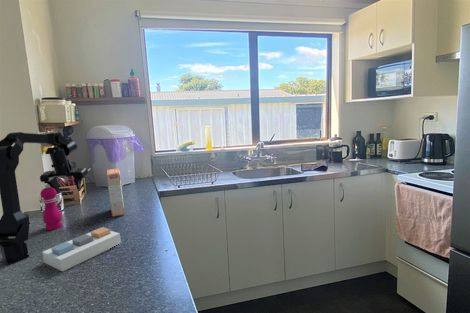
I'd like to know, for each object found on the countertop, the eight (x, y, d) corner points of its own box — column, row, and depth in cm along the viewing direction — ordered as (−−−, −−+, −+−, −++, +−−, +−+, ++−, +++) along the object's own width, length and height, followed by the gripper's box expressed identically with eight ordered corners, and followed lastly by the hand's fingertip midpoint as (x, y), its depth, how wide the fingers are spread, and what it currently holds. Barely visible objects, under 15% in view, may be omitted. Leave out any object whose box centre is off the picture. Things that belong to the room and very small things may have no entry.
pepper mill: (54, 231, 130) (47, 186, 127) (40, 230, 132) (33, 186, 128) (67, 224, 137) (60, 182, 134) (53, 224, 139) (46, 182, 135)
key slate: (60, 259, 98) (58, 250, 98) (52, 256, 101) (51, 247, 101) (74, 252, 102) (73, 244, 102) (67, 249, 105) (65, 241, 105)
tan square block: (99, 241, 110) (98, 234, 109) (91, 239, 113) (90, 231, 112) (110, 236, 114) (109, 229, 113) (103, 234, 117) (102, 227, 116)
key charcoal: (80, 250, 104) (79, 241, 104) (73, 247, 107) (72, 239, 106) (93, 244, 108) (92, 236, 108) (86, 241, 111) (85, 234, 110)
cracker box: (125, 215, 145) (119, 172, 141) (111, 217, 143) (105, 174, 139) (124, 206, 158) (119, 167, 154) (112, 208, 156) (106, 169, 152)
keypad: (62, 271, 96) (60, 259, 95) (44, 262, 102) (42, 251, 102) (121, 243, 114) (119, 233, 113) (102, 237, 120) (100, 228, 119)
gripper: (88, 151, 139) (96, 181, 145) (47, 155, 139) (58, 185, 145) (77, 160, 129) (87, 193, 134) (33, 164, 128) (45, 196, 134)
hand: (69, 191), depth 137 cm, fingers open, 9 cm apart
